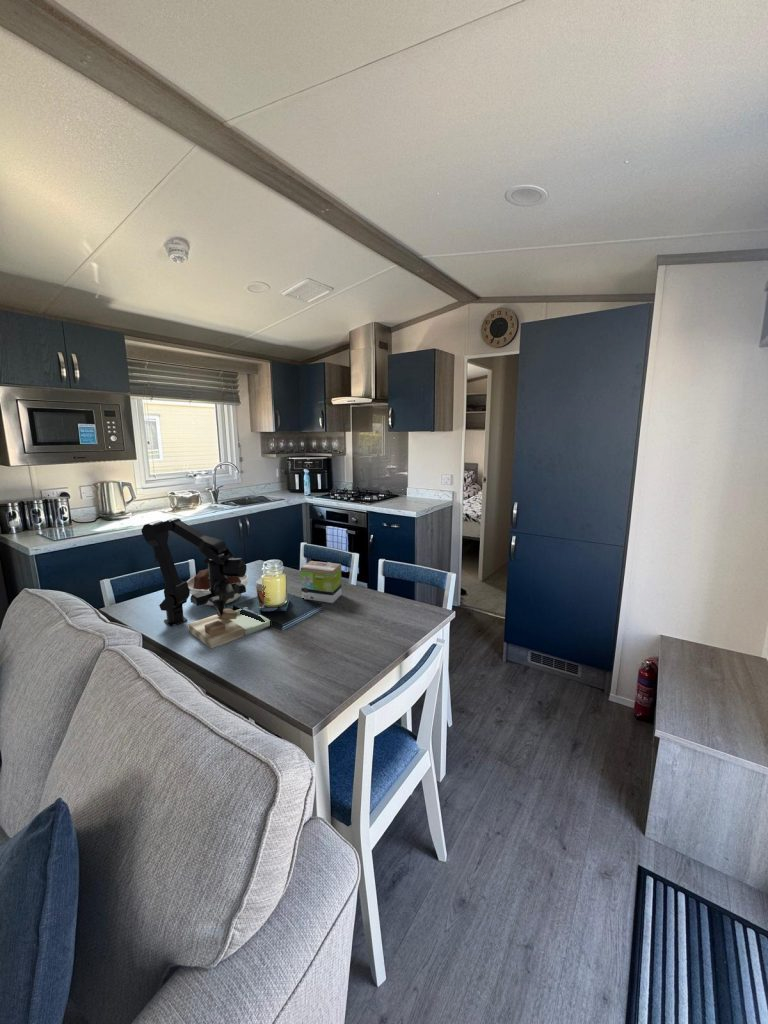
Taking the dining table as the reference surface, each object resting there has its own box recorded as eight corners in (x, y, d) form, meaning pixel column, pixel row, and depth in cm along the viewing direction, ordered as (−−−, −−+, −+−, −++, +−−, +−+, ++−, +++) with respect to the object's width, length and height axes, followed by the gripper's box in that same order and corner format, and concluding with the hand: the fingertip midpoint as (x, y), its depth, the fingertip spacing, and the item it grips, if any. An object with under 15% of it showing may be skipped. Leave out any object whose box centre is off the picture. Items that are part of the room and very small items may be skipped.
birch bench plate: (188, 631, 156) (188, 623, 156) (220, 620, 165) (219, 613, 164) (211, 648, 144) (210, 640, 143) (244, 635, 153) (243, 628, 152)
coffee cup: (252, 610, 174) (250, 582, 171) (268, 602, 182) (266, 575, 179) (269, 614, 169) (268, 586, 167) (285, 606, 178) (284, 578, 175)
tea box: (301, 599, 184) (299, 567, 181) (311, 591, 193) (310, 560, 190) (333, 603, 180) (332, 570, 177) (342, 594, 189) (341, 563, 186)
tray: (220, 620, 165) (220, 615, 164) (246, 611, 173) (246, 606, 172) (244, 635, 153) (244, 630, 152) (271, 625, 160) (270, 620, 160)
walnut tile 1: (217, 615, 161) (218, 608, 161) (229, 615, 165) (230, 608, 165) (224, 619, 158) (225, 612, 158) (236, 618, 161) (237, 612, 161)
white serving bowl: (220, 585, 200) (218, 555, 197) (262, 594, 189) (259, 562, 186) (174, 606, 178) (170, 571, 175) (218, 617, 167) (214, 581, 164)
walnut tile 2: (205, 631, 150) (204, 625, 149) (218, 626, 153) (218, 620, 153) (211, 636, 146) (211, 629, 146) (225, 631, 150) (225, 624, 149)
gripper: (201, 587, 144) (205, 630, 147) (252, 574, 157) (254, 613, 160) (188, 579, 151) (191, 620, 154) (237, 567, 165) (240, 605, 168)
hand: (220, 615), depth 159 cm, fingers closed
